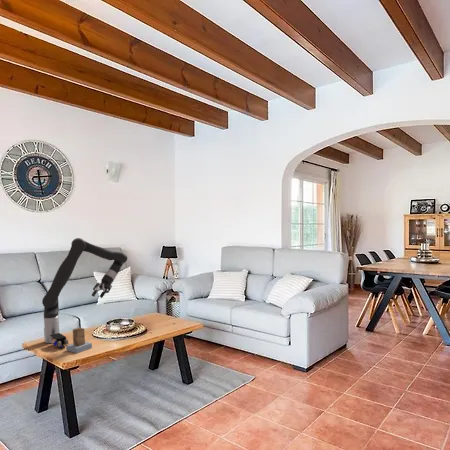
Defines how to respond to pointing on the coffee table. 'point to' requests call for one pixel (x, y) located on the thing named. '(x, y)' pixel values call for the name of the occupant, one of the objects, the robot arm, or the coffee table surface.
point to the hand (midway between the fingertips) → (96, 296)
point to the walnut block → (78, 336)
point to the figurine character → (59, 340)
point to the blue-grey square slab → (78, 347)
